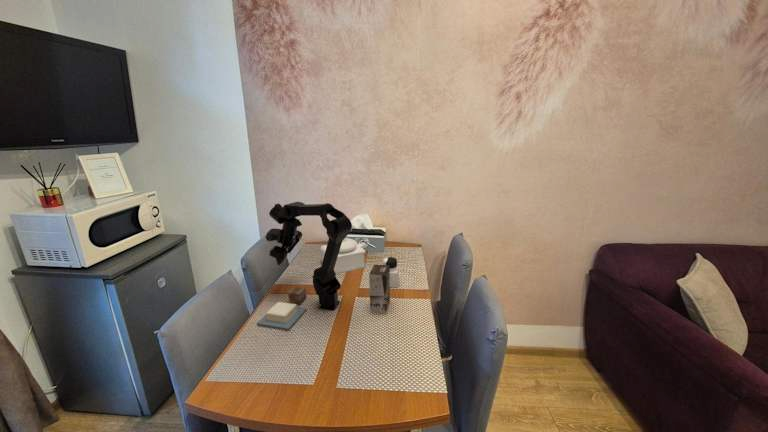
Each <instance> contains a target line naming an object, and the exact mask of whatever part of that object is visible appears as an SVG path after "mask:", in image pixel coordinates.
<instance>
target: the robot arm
mask: <svg viewBox="0 0 768 432" xmlns="http://www.w3.org/2000/svg"><path fill="white" fill-rule="evenodd" d="M268 215H269V217H271V219H272V220H274V221H275V222H276V223H277V224H279V225H282V228H271V229H269V230H268V231H267V232H266V234H265V237H264V238H265V239H266V241H267V242H273V241H276V243H277V244H280V245H281V246H278V245H274V246H273V247H272V248H271V249H269V254H268V255H269V256H270V257H272V258H274V259H275V260H276V264H277V265H278V266H281V265H282V263H283V262H284V261H285V260H286V258H288V254H291V252H292V251H293V250H294V248H295V247H296V246H297V245H298V243H299V242H300V241H301V239H302V237H303V233H302V231H300V230H298V227H301V226H302V225H303V224H302V221H300V219H299V218H297V217H301V216H302V217H303V216H305V217H306V216H310V217H311V216H313V217H314V216H319V218H320V219H321V223H322V226H323V227H324V229H325V230H326V235H327V237H328V240H327V244H326V245H327V247H326V251H325V255H324V258H323V262H322V261H321V262H322V263H321V266H319V267H317V268H315V269H314V271H313V275H312V277H311V278H312V285H313V288H314V291H315V294H316V295H317V296H318V304H319V306H318V309H320V310H326V311H327V310H328V311H334V310H335V309H336V308H337V307H338V305H339V304H340V303H341V301H340V300H339V297H338V294H339V293H338V290H340V289H341V286H342V284H341V283H340V281H339V280H338V278H337V274H336V273H335V271H334V267H335V264H336V260H337V257H338V254H339V250H340V247H341V244H342V241H343V240H344V239H345V237H346V238H347V236H349V234H350V232H351V230H352V228H353V227H352V226H353V224H352V221H351V220H350V218H349V217H347V215H346V213H344V212H343V211H341V210H340V209H337V208H335V207H334V206H333V205H332V204H331V203H330V202H329V203H328V202H326V203H320V204H319V203H313V204H311V203H310V204H306V203H304V202H302V201H294V202H291V203H287V204H284V205H283V206H282V204H280V203H276V204H274V206H273V207H272V208H271V209H270V210H269V213H268ZM328 215H329V216H331V217H333V218H334V219H331V220H330V219H329V218H328Z"/></svg>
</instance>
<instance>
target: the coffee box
mask: <svg viewBox="0 0 768 432" xmlns="http://www.w3.org/2000/svg"><path fill="white" fill-rule="evenodd" d="M368 275H369V277H368V279H369V282H368V284H369V307H370V309H369V311H370V313H376V314H384V315H385V314H387V312H388V309H389V307H390V302H391V287H390V265H383V264H373V266H372V267H371V270H370V272H369V274H368Z"/></svg>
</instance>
